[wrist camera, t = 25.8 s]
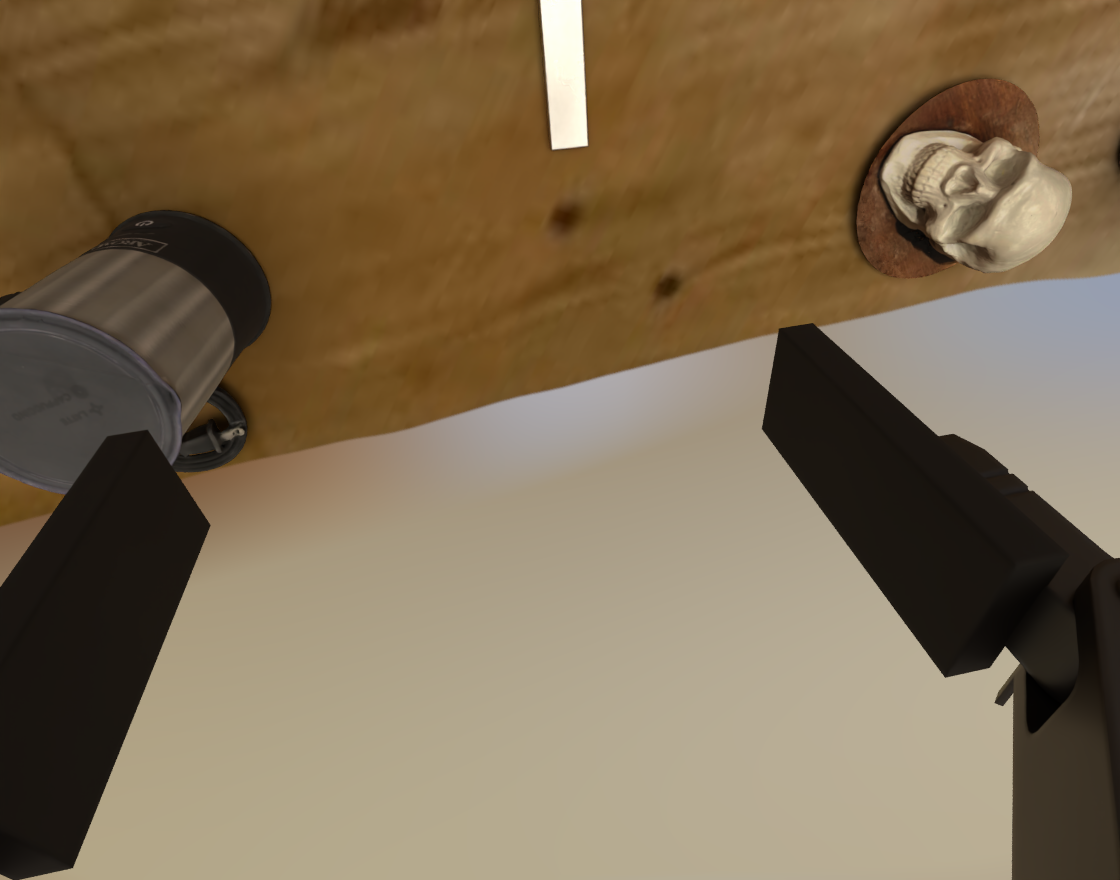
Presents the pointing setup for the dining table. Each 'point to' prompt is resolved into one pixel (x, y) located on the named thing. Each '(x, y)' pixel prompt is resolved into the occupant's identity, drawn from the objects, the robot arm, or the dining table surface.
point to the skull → (962, 186)
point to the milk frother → (129, 349)
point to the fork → (564, 72)
